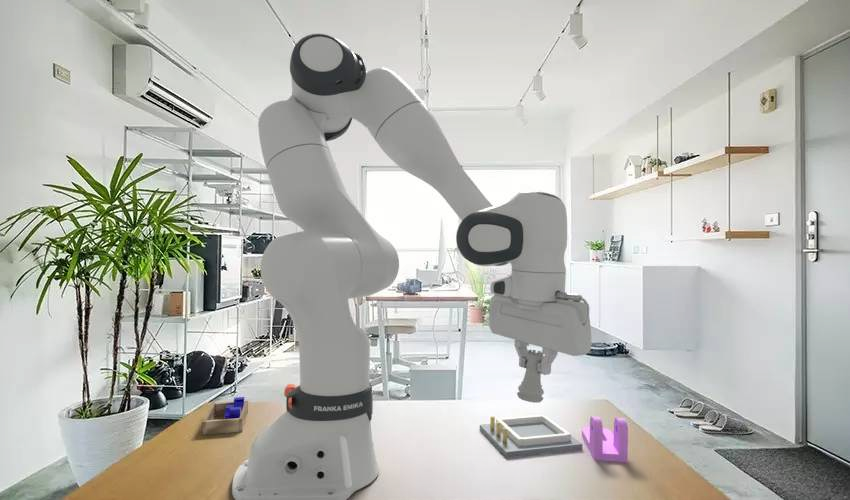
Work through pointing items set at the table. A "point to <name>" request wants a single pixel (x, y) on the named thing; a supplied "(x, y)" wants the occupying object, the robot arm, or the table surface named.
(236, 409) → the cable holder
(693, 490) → the table surface
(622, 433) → the bracket
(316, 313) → the robot arm
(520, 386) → the rook chess piece
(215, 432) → the box
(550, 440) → the board
